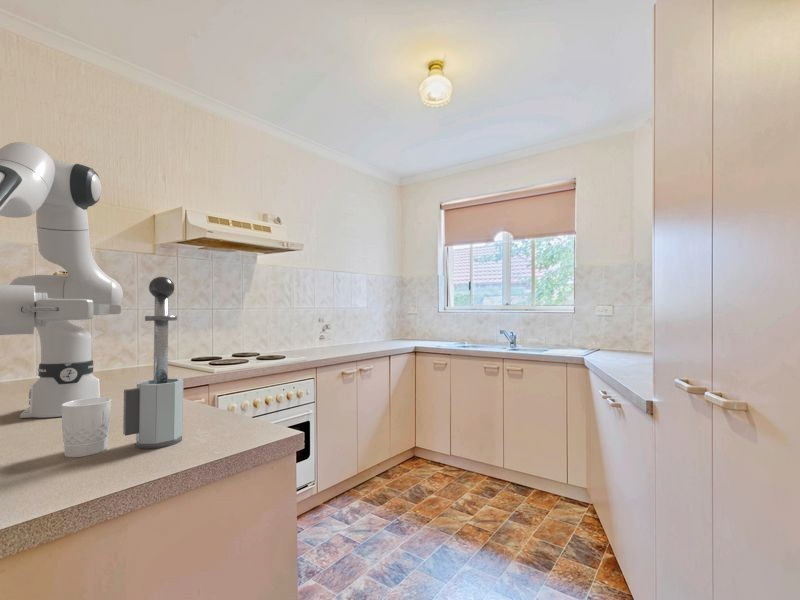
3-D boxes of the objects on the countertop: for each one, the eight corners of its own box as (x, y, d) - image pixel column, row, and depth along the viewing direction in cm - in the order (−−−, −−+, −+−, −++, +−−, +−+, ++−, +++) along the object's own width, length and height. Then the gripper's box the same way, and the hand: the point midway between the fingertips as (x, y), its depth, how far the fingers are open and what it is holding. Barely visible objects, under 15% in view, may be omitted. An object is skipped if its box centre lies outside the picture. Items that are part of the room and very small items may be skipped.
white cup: (119, 444, 83) (120, 397, 83) (91, 458, 75) (92, 406, 75) (81, 445, 83) (82, 397, 83) (49, 459, 75) (50, 406, 75)
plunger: (140, 395, 85) (142, 276, 86) (172, 391, 89) (173, 278, 90) (147, 399, 80) (149, 274, 81) (179, 395, 85) (181, 276, 86)
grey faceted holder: (120, 444, 83) (121, 383, 83) (175, 433, 90) (176, 377, 91) (128, 454, 77) (129, 388, 77) (187, 442, 84) (187, 381, 85)
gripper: (22, 289, 63) (126, 292, 72) (21, 294, 77) (108, 295, 87) (21, 329, 62) (125, 326, 72) (20, 326, 77) (107, 324, 87)
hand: (116, 309), depth 80 cm, fingers open, 8 cm apart
